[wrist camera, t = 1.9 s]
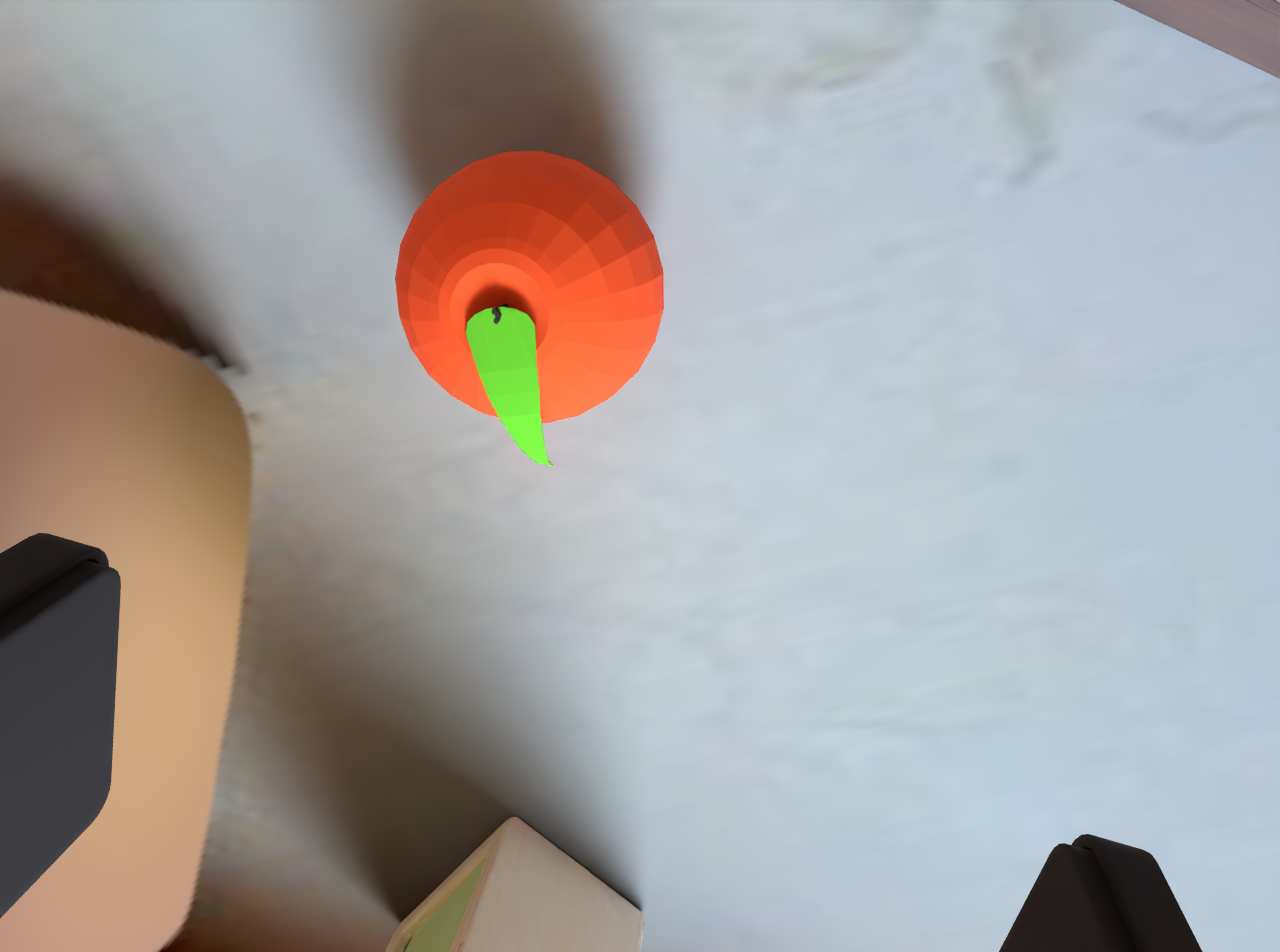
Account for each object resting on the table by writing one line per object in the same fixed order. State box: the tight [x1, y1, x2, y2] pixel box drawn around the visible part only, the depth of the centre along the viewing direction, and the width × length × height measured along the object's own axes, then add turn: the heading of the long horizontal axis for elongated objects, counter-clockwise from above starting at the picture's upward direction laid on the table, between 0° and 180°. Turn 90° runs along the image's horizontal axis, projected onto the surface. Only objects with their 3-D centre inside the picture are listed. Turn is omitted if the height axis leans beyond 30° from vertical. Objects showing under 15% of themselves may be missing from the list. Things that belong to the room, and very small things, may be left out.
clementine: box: [395, 151, 664, 466], centre depth 26 cm, size 8×7×7 cm
